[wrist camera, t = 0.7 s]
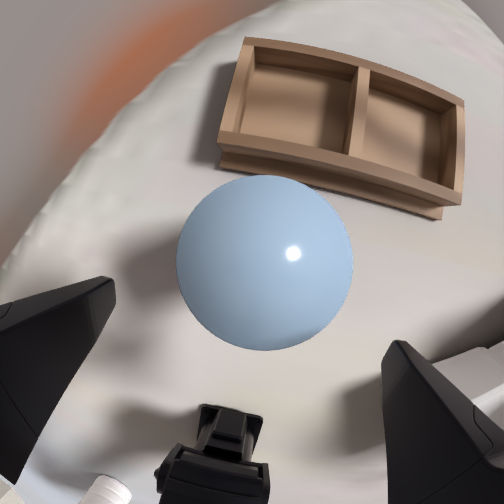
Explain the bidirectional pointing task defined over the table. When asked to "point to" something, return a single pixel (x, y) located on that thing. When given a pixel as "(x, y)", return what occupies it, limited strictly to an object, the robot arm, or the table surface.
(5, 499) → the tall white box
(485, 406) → the electronic device
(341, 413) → the table surface
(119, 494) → the water bottle
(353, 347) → the table surface
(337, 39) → the table surface
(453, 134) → the wooden divided tray
